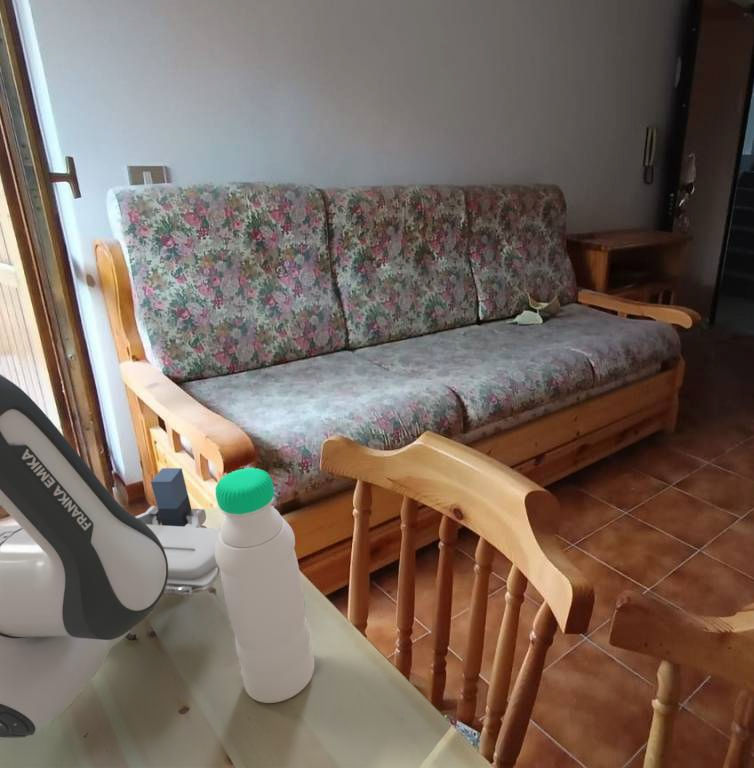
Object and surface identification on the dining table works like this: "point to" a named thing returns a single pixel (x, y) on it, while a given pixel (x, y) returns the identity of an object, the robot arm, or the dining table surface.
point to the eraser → (171, 496)
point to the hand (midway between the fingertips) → (179, 511)
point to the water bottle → (262, 588)
